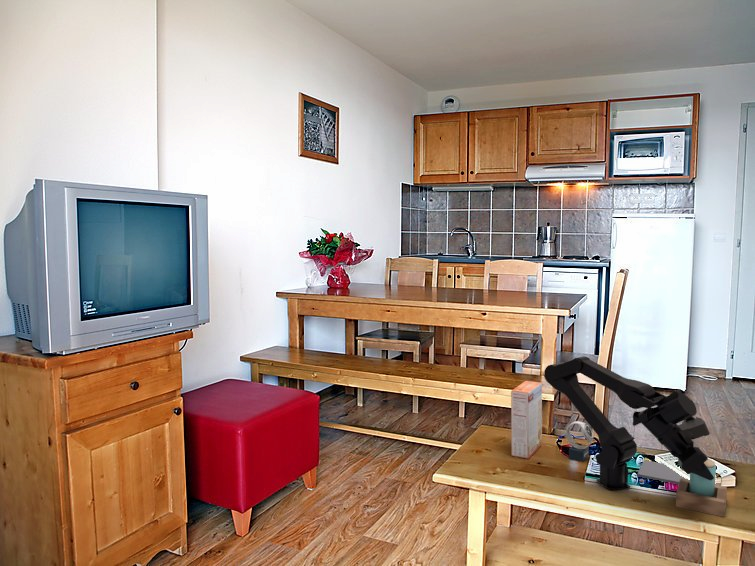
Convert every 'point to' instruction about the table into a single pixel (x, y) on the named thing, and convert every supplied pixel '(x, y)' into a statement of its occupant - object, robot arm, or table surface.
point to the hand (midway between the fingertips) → (708, 474)
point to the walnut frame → (701, 499)
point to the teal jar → (703, 481)
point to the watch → (577, 450)
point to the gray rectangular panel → (659, 472)
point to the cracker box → (526, 419)
